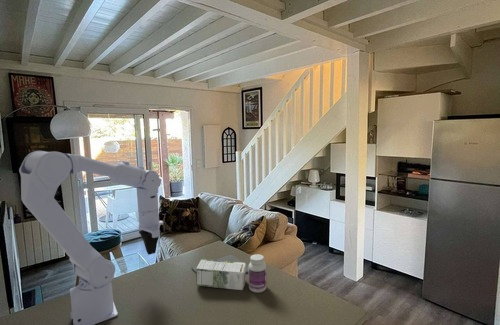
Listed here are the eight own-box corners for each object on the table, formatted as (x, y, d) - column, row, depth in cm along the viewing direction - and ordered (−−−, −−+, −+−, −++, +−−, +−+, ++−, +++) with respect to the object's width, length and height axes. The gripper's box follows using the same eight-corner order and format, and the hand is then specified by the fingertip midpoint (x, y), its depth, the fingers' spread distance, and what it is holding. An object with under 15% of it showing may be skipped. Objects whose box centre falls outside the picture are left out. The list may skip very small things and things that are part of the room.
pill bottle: (269, 290, 79) (269, 259, 78) (252, 295, 77) (252, 262, 76) (262, 281, 84) (261, 251, 83) (246, 285, 82) (245, 254, 81)
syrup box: (201, 275, 87) (246, 278, 85) (195, 286, 81) (243, 290, 80) (201, 258, 86) (246, 262, 84) (195, 268, 80) (243, 272, 79)
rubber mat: (210, 287, 82) (210, 285, 82) (191, 268, 93) (191, 267, 93) (253, 270, 91) (253, 268, 91) (231, 255, 102) (231, 254, 102)
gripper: (169, 212, 77) (172, 258, 79) (155, 202, 89) (157, 242, 91) (143, 217, 73) (146, 265, 75) (132, 206, 85) (135, 247, 87)
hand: (151, 253), depth 83 cm, fingers closed
